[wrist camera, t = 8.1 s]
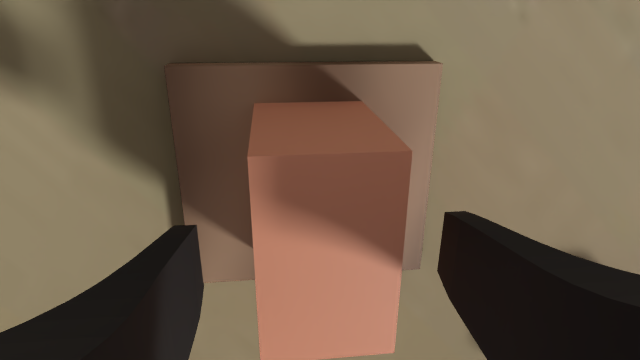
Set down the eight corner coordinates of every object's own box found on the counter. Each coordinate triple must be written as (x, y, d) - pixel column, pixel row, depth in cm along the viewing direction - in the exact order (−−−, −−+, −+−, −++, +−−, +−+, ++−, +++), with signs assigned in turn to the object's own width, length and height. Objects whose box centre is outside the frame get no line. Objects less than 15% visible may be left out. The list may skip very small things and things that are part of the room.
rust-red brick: (262, 254, 18) (260, 364, 12) (254, 103, 15) (247, 156, 10) (355, 248, 18) (394, 352, 13) (361, 101, 16) (412, 150, 10)
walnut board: (195, 272, 19) (192, 283, 18) (169, 63, 15) (164, 66, 15) (414, 259, 20) (419, 269, 19) (434, 60, 16) (442, 63, 16)
